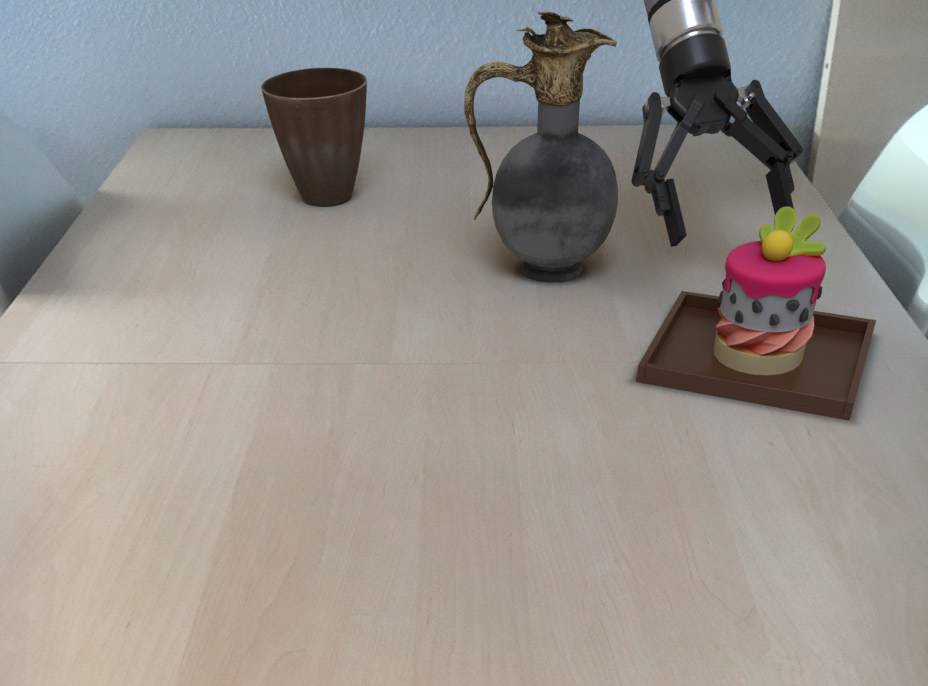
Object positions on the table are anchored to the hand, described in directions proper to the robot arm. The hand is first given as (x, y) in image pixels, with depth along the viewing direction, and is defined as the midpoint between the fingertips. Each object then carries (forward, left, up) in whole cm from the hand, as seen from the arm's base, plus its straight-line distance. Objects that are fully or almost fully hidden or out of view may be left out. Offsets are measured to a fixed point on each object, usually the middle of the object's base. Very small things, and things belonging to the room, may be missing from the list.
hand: (733, 232), depth 115 cm
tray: (-6, +8, -11) cm, 15 cm away
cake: (-6, +8, -10) cm, 14 cm away
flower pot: (+64, -20, -11) cm, 68 cm away
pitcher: (+25, -6, -11) cm, 28 cm away
